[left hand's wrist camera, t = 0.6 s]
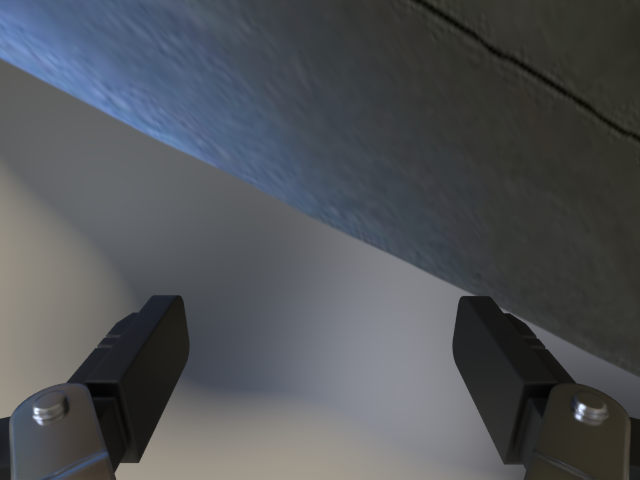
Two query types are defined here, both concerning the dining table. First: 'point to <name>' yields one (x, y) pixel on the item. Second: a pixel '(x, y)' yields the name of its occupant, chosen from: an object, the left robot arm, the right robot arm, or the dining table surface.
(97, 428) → the left robot arm
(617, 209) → the dining table surface
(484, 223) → the dining table surface
